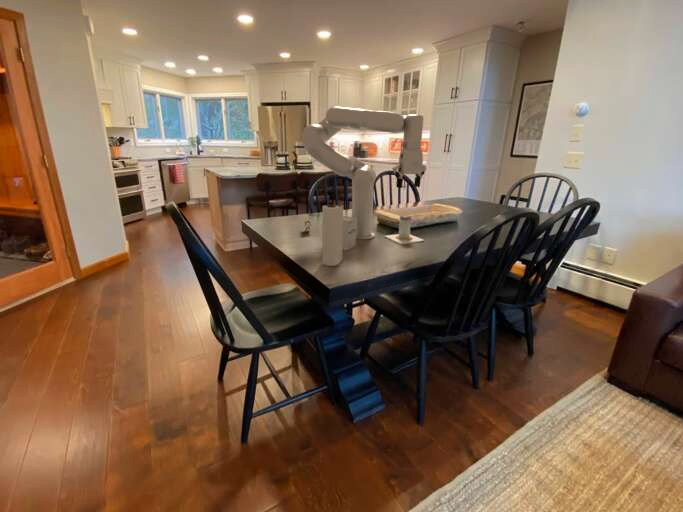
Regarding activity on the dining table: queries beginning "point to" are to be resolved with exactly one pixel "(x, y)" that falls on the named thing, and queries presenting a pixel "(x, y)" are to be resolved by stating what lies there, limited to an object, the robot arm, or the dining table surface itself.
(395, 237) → the card
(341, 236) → the paper towel roll
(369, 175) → the robot arm
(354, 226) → the white bottle
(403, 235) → the tube
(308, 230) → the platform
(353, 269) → the dining table surface
